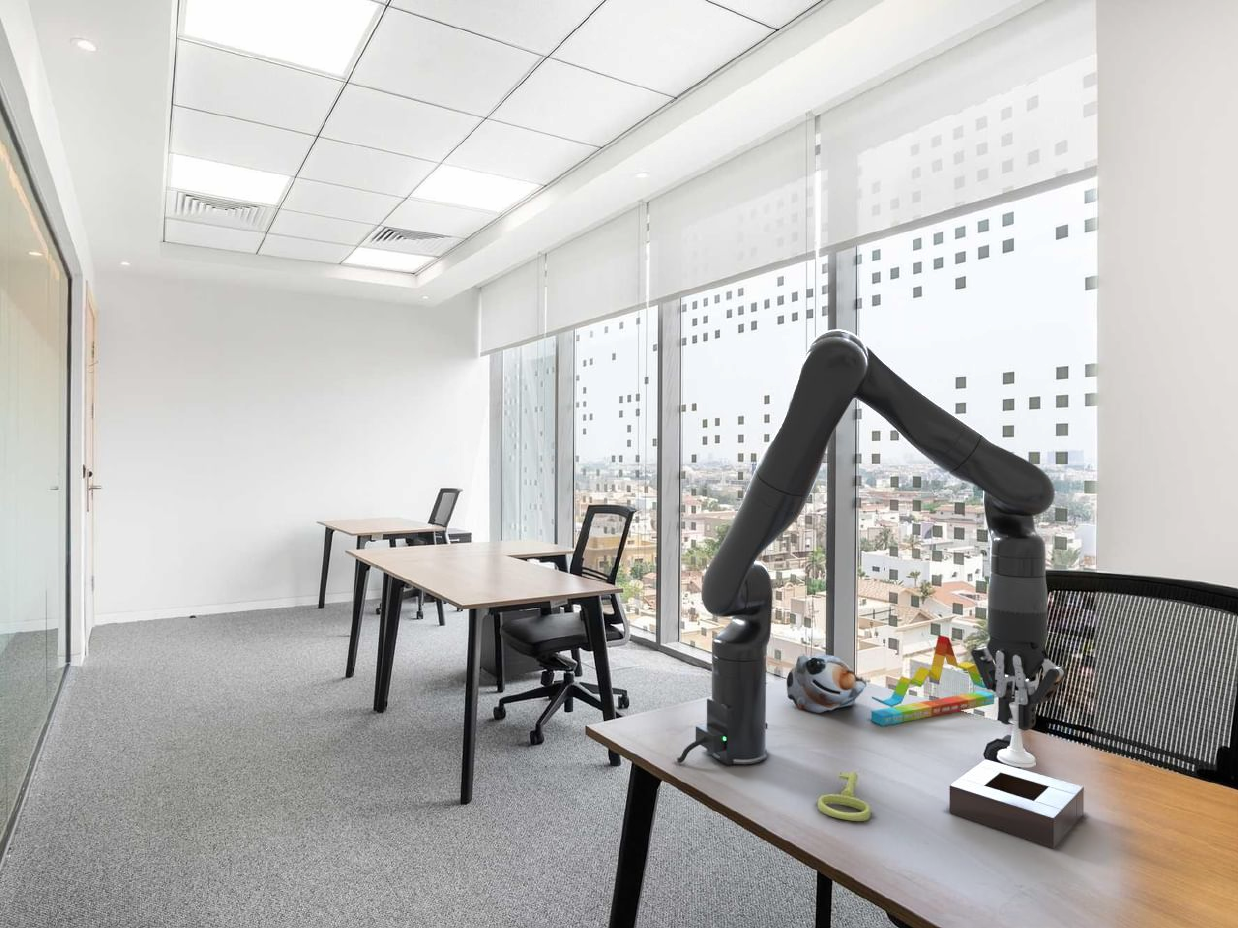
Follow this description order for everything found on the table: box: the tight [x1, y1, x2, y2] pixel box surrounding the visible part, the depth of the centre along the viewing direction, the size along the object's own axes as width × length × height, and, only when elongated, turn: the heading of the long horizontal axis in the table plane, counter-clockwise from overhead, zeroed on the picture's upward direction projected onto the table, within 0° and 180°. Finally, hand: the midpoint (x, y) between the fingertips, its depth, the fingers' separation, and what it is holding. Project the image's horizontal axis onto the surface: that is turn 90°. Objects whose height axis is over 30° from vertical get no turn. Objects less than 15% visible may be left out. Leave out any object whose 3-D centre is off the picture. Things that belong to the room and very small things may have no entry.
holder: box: [948, 758, 1085, 849], centre depth 107 cm, size 14×14×4 cm
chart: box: [870, 634, 995, 727], centre depth 149 cm, size 30×3×15 cm, turn 114°
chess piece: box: [997, 690, 1037, 769], centre depth 106 cm, size 5×5×10 cm
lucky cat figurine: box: [786, 653, 867, 714], centre depth 151 cm, size 15×12×14 cm
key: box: [817, 771, 872, 822], centre depth 110 cm, size 7×12×2 cm, turn 172°
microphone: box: [982, 734, 1022, 769], centre depth 126 cm, size 6×6×20 cm
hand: (1016, 725), depth 106 cm, fingers closed on chess piece
